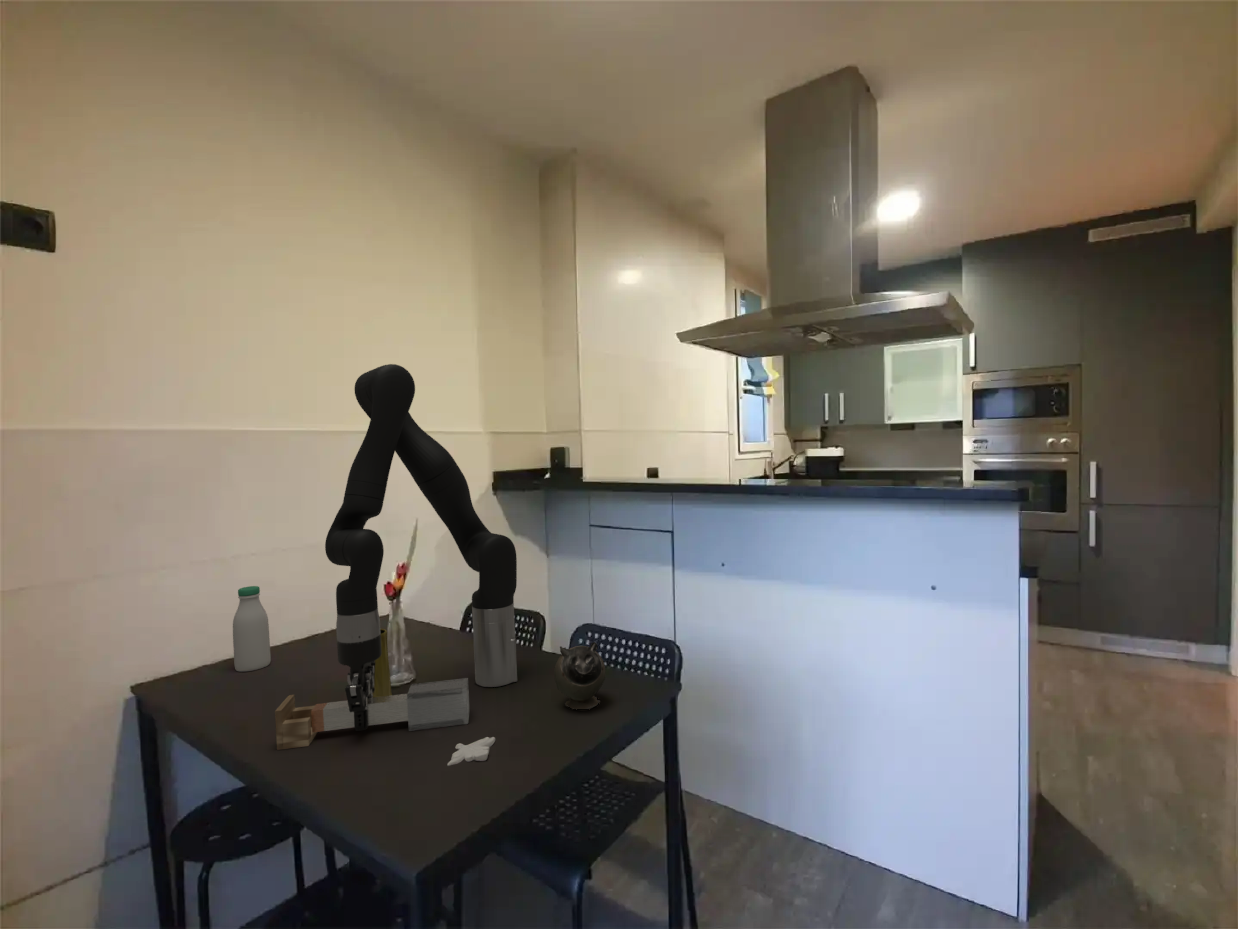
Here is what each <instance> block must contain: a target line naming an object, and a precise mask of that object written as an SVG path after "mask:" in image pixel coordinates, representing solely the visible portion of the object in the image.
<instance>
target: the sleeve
mask: <svg viewBox="0 0 1238 929" xmlns="http://www.w3.org/2000/svg"><path fill="white" fill-rule="evenodd" d="M406 694H407V706H408V721H407V722H408V726H407V727H408V732H413V731H422V730H429V729H436V728H437V729H439V728H446V727H453V726H460V725H461V726H462V725H467V724H469V720H470V712H471V711H470V693H469V677H463V678H455V679H446V680H438V681H428V682H420V683H411V684H410V686H409V689H408V692H407V693H406Z"/></svg>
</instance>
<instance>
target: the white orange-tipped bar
mask: <svg viewBox="0 0 1238 929" xmlns="http://www.w3.org/2000/svg"><path fill="white" fill-rule="evenodd" d="M407 694H408V693H401V694H400V693H399V694H392V695H391V696H382V697H373V698H367V705H368V708H367V713H368V727H369V726H374V725H375V726H376V725H383V724H392V723H399V722H400V723H401V722H408V706H407ZM356 704H360V703H359V702H358V703H356ZM313 706H314V708H313V709H312V711H311V716H312V732H317V733H318V732H326V731H327V732H328V731H336V730H342V729H351V728H353V729H354V728H355V725H354V712H350V711H349V706H348V701H347V700H340V701H330V702H324V703H323V702H322V703H316V704H314V705H313Z"/></svg>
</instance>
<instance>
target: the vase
mask: <svg viewBox="0 0 1238 929" xmlns="http://www.w3.org/2000/svg"><path fill="white" fill-rule="evenodd" d="M380 632H381V651H382V654H381V656H380V657H379V658H378V659H377V660H375V663H376V664H375V682H374V688H375V691H374V693H372V694H373V697H382V696H391V695H393V693H392V685H391V672H390V671H391V670H390V663H389V662H390V660H389V651H388V650H389V649H388V630H386V629H385V628H380Z"/></svg>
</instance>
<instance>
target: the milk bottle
mask: <svg viewBox="0 0 1238 929" xmlns="http://www.w3.org/2000/svg"><path fill="white" fill-rule="evenodd" d="M260 591H261V590H260V586H258V585H251V586H250V585H249V586H244V587H241V588H239V589H237V595H238V599H239V602H238V607H237V609H236V612H235V614H234V616H233V619H232V620H233V621H232V640H233V641H232V643H233V661H234V669H235V671H236V672H240V673H241V672H251V671H257V670H260V669H263V668H265V667H268V666H269V665H270V664H271V660H272V659H271V641H270V640H271V639H270V626H269V625H270V624H269V617H268V613H267V611H266V610H265V608H264V606H263V604H262V603H261V600H260V595H261V593H260Z"/></svg>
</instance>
